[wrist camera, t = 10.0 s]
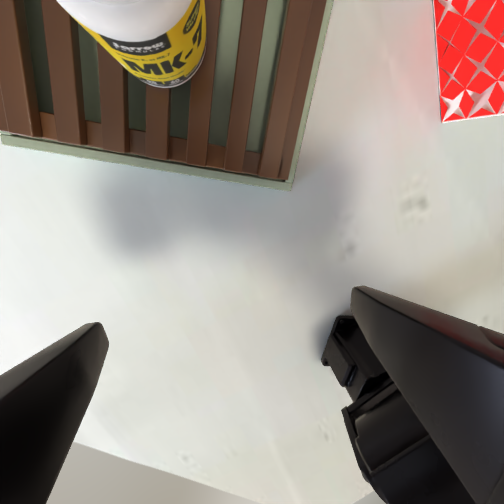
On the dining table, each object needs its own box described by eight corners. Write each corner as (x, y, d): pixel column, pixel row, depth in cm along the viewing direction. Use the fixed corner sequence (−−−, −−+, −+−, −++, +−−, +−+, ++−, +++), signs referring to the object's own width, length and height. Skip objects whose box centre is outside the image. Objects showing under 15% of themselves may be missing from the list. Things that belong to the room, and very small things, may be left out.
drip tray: (337, -45, 14) (347, -62, 13) (286, 189, 19) (290, 191, 18) (-41, -188, 10) (-72, -228, 9) (16, 145, 15) (1, 144, 14)
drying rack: (327, -38, 13) (348, -76, 11) (282, 178, 18) (291, 181, 16) (-31, -170, 10) (-98, -257, 8) (20, 133, 15) (-15, 129, 12)
